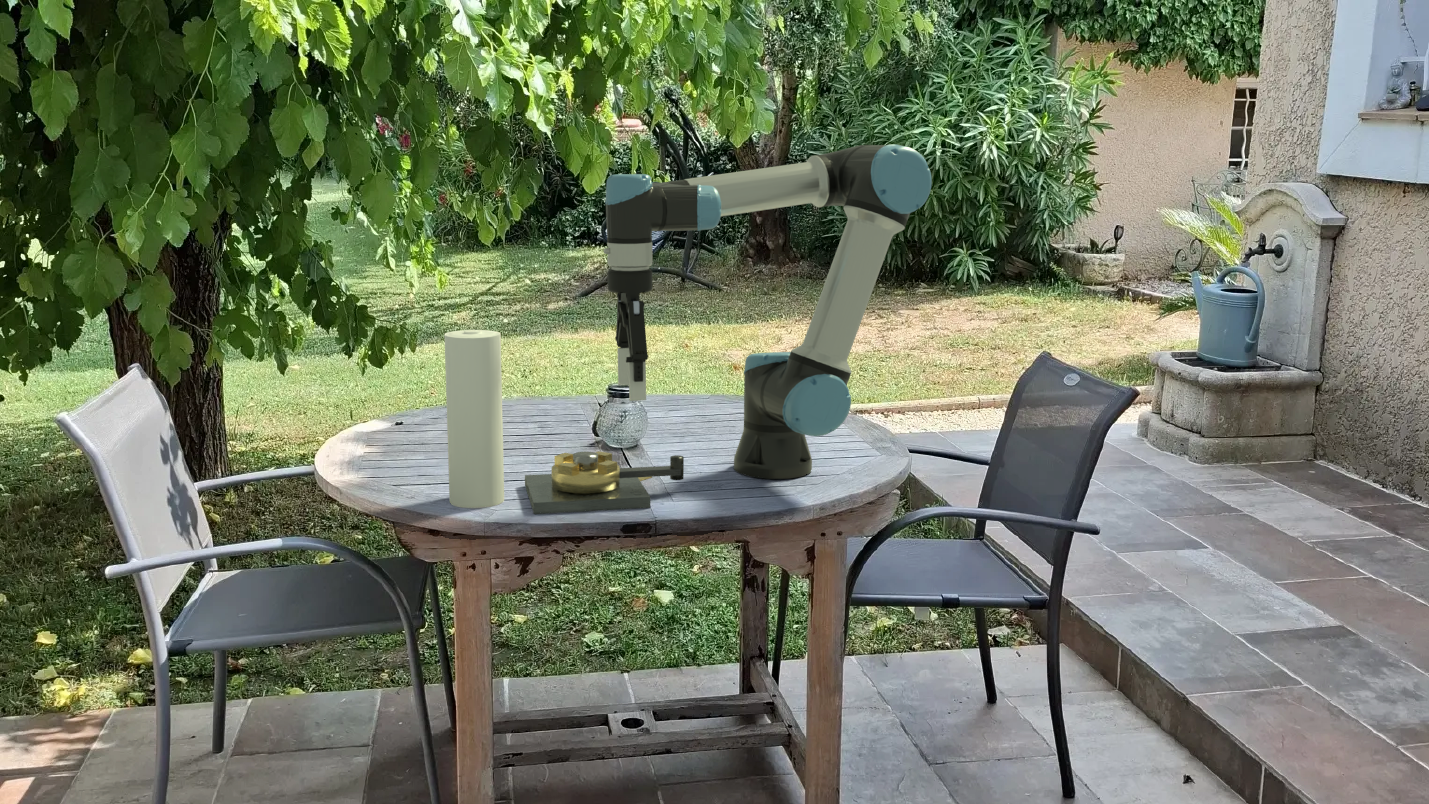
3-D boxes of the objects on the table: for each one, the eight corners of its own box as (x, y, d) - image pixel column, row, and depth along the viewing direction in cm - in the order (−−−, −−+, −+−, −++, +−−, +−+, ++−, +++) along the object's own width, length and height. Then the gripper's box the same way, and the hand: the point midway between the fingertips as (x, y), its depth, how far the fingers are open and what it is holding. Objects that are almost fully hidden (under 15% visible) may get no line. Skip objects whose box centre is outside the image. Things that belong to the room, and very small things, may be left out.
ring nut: (676, 470, 227) (676, 442, 226) (690, 488, 215) (690, 458, 214) (548, 476, 222) (548, 447, 220) (555, 494, 210) (555, 464, 209)
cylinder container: (507, 493, 219) (504, 327, 213) (500, 508, 210) (496, 335, 204) (454, 492, 219) (449, 326, 213) (445, 508, 209) (439, 334, 203)
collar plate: (650, 475, 232) (651, 465, 232) (672, 506, 212) (672, 495, 212) (523, 481, 227) (523, 471, 226) (533, 514, 207) (533, 502, 206)
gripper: (598, 261, 216) (600, 379, 220) (617, 276, 192) (619, 408, 196) (640, 260, 217) (642, 377, 222) (664, 275, 194) (665, 406, 198)
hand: (631, 392), depth 209 cm, fingers open, 13 cm apart
